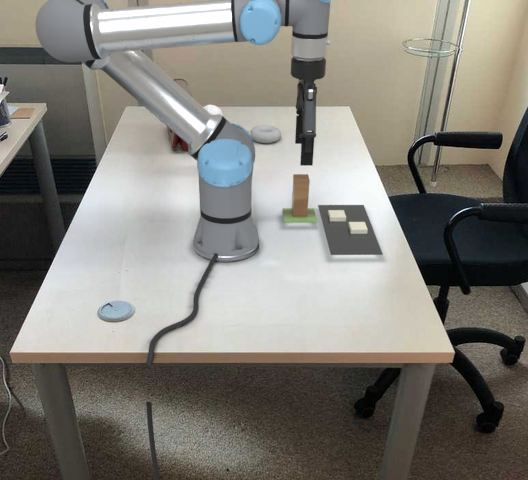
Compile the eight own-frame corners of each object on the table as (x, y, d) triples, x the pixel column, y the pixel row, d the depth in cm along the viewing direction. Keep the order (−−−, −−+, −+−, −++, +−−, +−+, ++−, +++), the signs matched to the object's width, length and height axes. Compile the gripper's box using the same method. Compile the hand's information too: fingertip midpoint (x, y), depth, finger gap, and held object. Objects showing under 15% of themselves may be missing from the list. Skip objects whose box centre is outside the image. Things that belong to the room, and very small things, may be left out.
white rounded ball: (205, 137, 216) (190, 117, 212) (219, 123, 219) (205, 103, 215) (217, 131, 210) (201, 111, 206) (231, 117, 213) (216, 96, 209)
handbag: (163, 125, 217) (158, 70, 206) (194, 124, 219) (191, 69, 208) (169, 156, 195) (165, 97, 185) (204, 154, 197) (202, 96, 186)
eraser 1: (345, 221, 160) (346, 217, 160) (329, 221, 160) (330, 217, 159) (343, 214, 163) (343, 209, 163) (327, 214, 163) (328, 210, 162)
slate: (382, 260, 148) (383, 254, 148) (330, 260, 148) (330, 254, 147) (363, 210, 169) (363, 204, 168) (317, 210, 168) (317, 204, 167)
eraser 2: (367, 233, 155) (367, 229, 155) (350, 233, 155) (351, 229, 154) (364, 226, 158) (364, 221, 158) (348, 226, 158) (348, 221, 158)
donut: (272, 132, 214) (245, 136, 210) (273, 122, 212) (245, 125, 208) (286, 142, 207) (257, 146, 203) (286, 132, 205) (258, 135, 201)
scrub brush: (315, 228, 160) (319, 182, 153) (283, 228, 160) (285, 182, 153) (313, 217, 165) (316, 172, 158) (282, 217, 165) (283, 172, 157)
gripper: (333, 73, 129) (326, 174, 142) (319, 43, 149) (313, 134, 162) (296, 73, 129) (291, 174, 142) (286, 43, 148) (283, 134, 161)
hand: (303, 153), depth 152 cm, fingers open, 13 cm apart
